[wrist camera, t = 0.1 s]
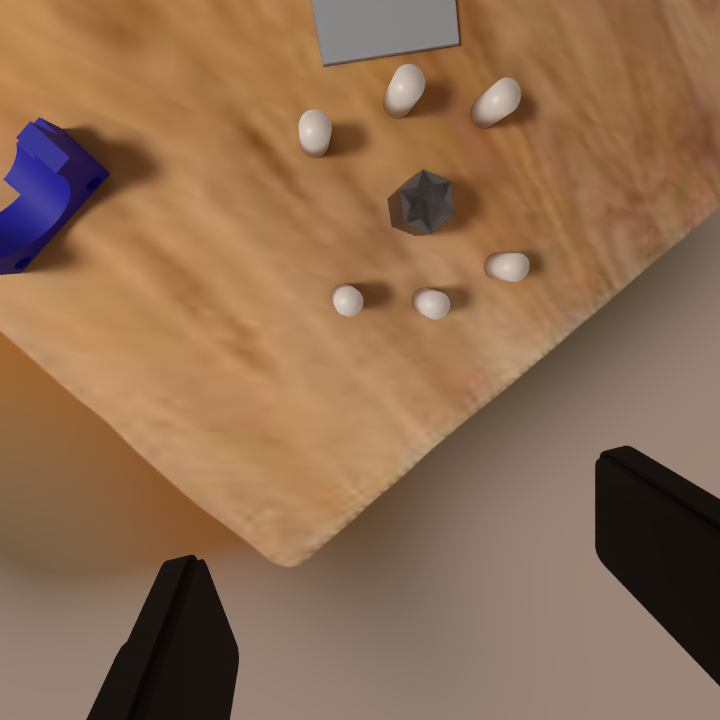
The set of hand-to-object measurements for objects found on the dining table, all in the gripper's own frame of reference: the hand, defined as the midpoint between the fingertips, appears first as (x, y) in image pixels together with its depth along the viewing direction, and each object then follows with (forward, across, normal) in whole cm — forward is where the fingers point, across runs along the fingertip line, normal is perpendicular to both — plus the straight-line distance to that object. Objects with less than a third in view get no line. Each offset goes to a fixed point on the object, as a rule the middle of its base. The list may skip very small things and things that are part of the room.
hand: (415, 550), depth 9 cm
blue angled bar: (+32, +22, -15) cm, 41 cm away
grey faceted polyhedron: (+31, -10, -9) cm, 34 cm away
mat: (+31, -10, -26) cm, 42 cm away
